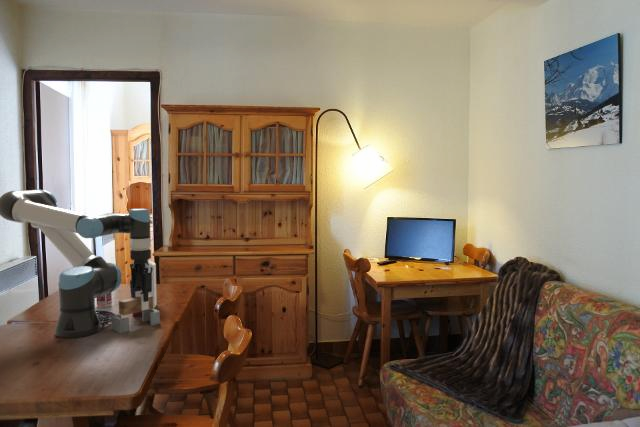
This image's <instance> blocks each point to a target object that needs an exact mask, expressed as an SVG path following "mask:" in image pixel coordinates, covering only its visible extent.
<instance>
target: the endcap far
mask: <svg viewBox="0 0 640 427" xmlns="http://www.w3.org/2000/svg"><path fill="white" fill-rule="evenodd" d="M160 316H161V311H160V310H158V309H156V308H153V309H150V310H146V311H142V316H141V318H142V323H145V322H149V323H150V326H157V325H160V324H161V317H160Z"/></svg>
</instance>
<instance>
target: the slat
mask: <svg viewBox="0 0 640 427" xmlns="http://www.w3.org/2000/svg"><path fill="white" fill-rule="evenodd" d="M148 300H149V309H147V310H150V309H154V308H153V296H150V295H148ZM141 311H146V310H141V296H140V297H135V298H131V297H130V298H125V299H121V300H118V314H121V316H127V315H133V313H137V312H141Z"/></svg>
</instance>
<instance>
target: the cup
mask: <svg viewBox="0 0 640 427" xmlns="http://www.w3.org/2000/svg"><path fill="white" fill-rule="evenodd" d="M129 287H130V296H131V297H130V298H135V291H134V289H132V280H131V278H130V279H129ZM140 291H141V290H140ZM132 316H133V317H135V318H137V317H139V318H140V317H142V311H141V312H137V313H132Z"/></svg>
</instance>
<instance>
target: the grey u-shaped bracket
mask: <svg viewBox="0 0 640 427" xmlns="http://www.w3.org/2000/svg"><path fill="white" fill-rule="evenodd" d="M110 322H111V323H110V326H111V329H112V330H113V331H115V332H117V333H119V334H123V333H126V332H130V317H123V318H122V315H121V314H119V313H118V314H117V313H116V314H114V315H110Z"/></svg>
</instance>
